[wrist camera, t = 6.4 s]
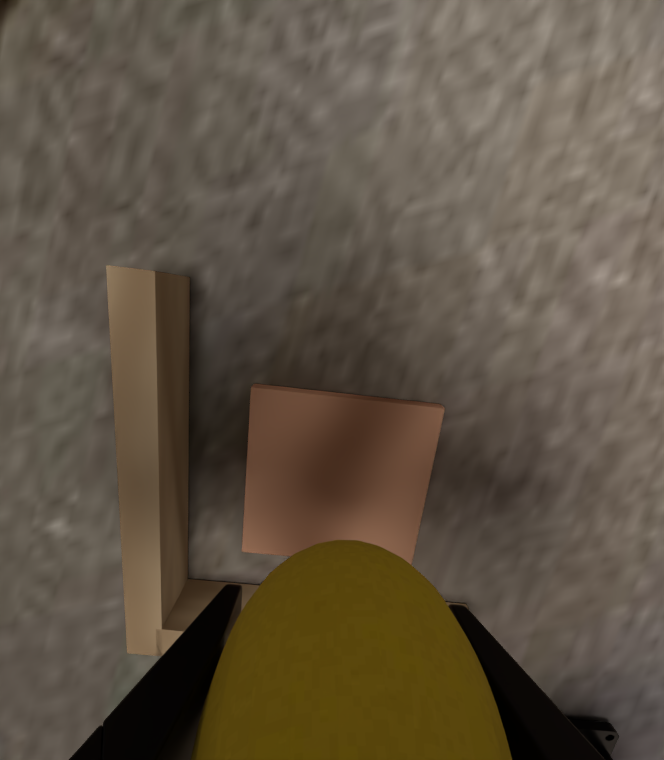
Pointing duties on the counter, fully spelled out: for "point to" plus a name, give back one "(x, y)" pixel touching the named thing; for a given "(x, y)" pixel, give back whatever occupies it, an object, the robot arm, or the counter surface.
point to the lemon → (348, 668)
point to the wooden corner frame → (264, 463)
